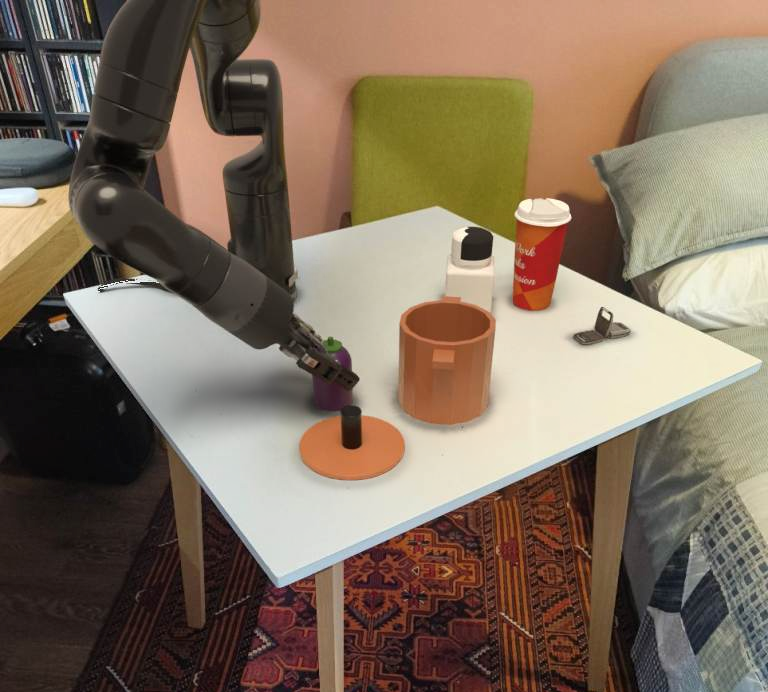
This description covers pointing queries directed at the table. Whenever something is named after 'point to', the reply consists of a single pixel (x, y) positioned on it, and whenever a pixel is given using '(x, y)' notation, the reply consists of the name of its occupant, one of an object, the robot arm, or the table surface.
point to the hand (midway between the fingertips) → (345, 372)
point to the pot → (445, 360)
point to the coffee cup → (538, 251)
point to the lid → (351, 446)
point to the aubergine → (333, 394)
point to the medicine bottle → (471, 267)
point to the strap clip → (603, 329)
